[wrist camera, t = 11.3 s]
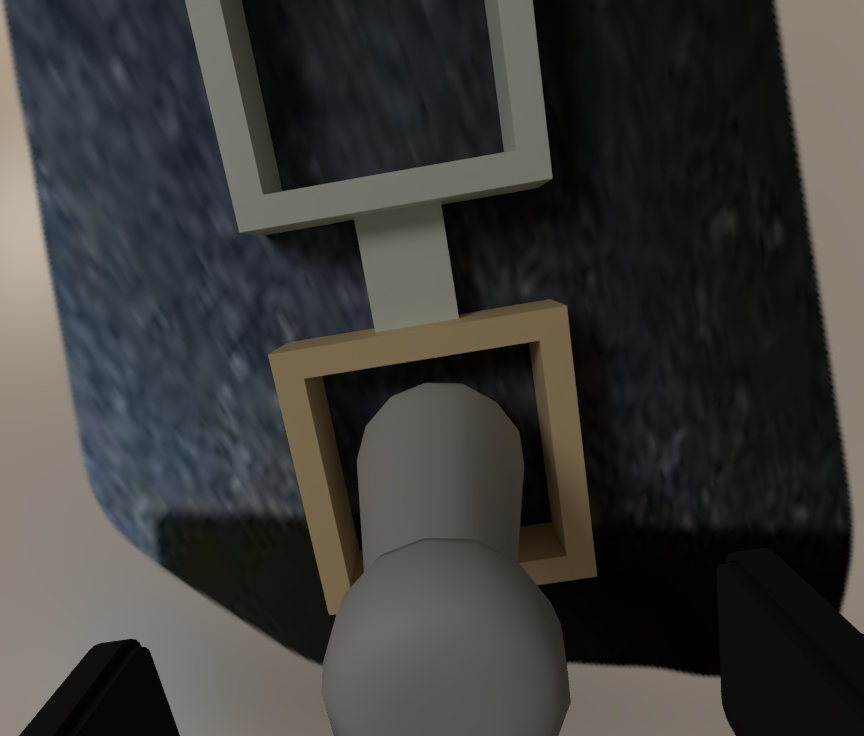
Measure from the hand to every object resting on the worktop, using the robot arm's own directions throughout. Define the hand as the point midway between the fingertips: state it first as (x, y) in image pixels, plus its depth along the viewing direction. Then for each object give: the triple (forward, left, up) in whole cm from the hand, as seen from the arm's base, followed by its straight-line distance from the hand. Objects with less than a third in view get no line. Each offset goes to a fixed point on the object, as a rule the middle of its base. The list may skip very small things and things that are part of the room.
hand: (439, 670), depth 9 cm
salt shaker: (+1, 0, -13) cm, 13 cm away
